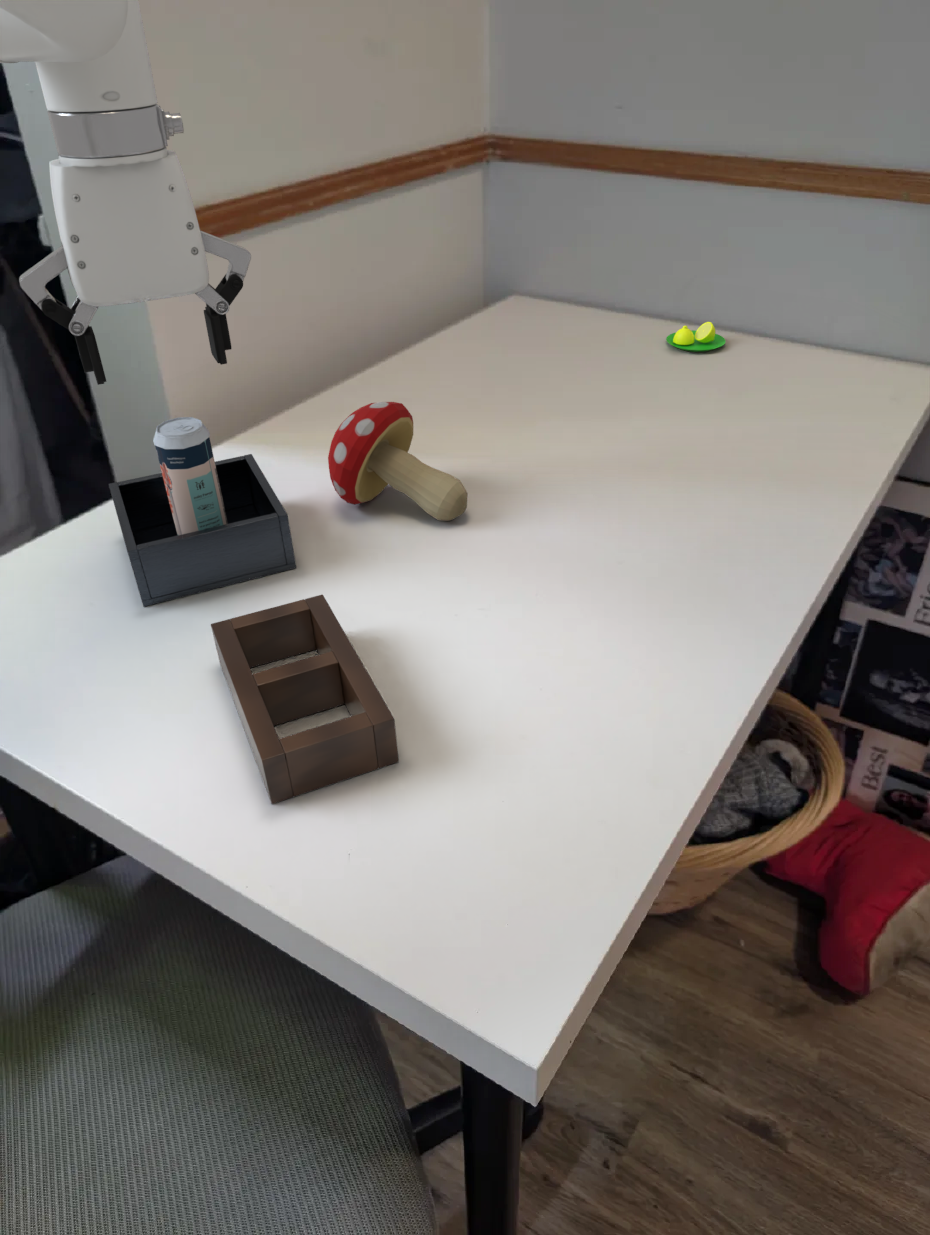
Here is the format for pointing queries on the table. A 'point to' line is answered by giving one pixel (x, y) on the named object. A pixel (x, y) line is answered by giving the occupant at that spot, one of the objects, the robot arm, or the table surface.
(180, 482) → the beer can
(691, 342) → the lemon
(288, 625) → the rack
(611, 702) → the table surface
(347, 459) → the decorative mushroom
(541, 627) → the table surface
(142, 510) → the dark grey open box
